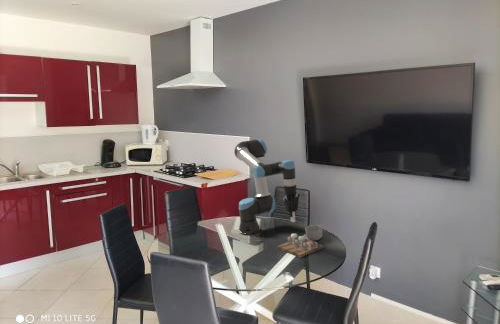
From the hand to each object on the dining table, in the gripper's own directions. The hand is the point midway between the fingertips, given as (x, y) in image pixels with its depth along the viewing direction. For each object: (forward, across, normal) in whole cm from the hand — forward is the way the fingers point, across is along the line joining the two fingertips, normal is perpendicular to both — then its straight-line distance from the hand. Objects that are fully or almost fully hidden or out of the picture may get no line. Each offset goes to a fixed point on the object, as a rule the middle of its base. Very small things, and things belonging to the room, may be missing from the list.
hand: (293, 221), depth 232 cm
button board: (+15, -2, -7) cm, 17 cm away
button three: (+13, 0, -14) cm, 19 cm away
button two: (+12, 0, -7) cm, 13 cm away
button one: (+12, 0, 0) cm, 12 cm away
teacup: (+16, +16, -2) cm, 22 cm away
